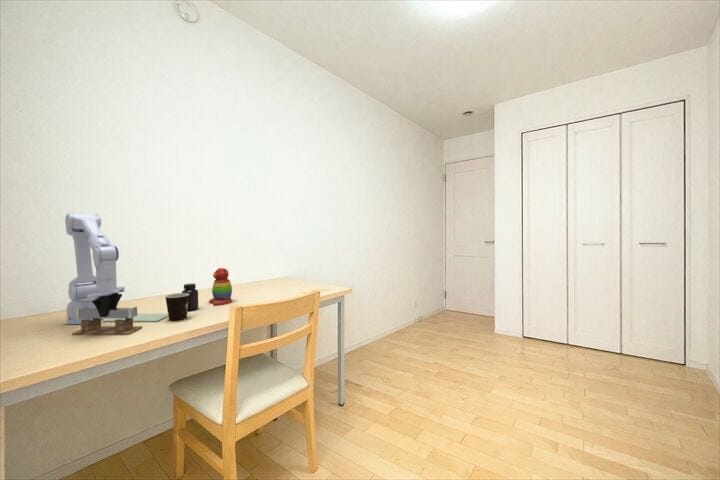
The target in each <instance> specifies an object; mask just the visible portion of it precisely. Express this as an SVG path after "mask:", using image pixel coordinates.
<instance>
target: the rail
mask: <svg viewBox="0 0 720 480" xmlns="http://www.w3.org/2000/svg"><path fill="white" fill-rule="evenodd" d="M137 314H138V306H134V307H117V308H108V315H107V317H100V315H99V313H98V310H97V308H87V307H83V308H79V309H77V318H104V319H109V318H133V317H135V316H137Z"/></svg>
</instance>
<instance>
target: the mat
mask: <svg viewBox="0 0 720 480" xmlns="http://www.w3.org/2000/svg"><path fill="white" fill-rule="evenodd" d="M167 318H169V316H168V313H137V316H135V317H133V323H158V322H161V321H163V320H165V319H167ZM116 319H123V320H125V318H105V319H102V323H115V320H116Z"/></svg>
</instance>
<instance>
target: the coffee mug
mask: <svg viewBox="0 0 720 480" xmlns="http://www.w3.org/2000/svg"><path fill="white" fill-rule="evenodd" d="M188 301H189V294H188V293H182V292H181V293H179V292H178V293H171V294H167V295H165V303H166V304H165V305H166V309H167V314H168V316H169V317H168V321H170V322H178V321H183V320H186V319H187V318H188V317H187V316H188V311H187V310H188Z"/></svg>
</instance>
